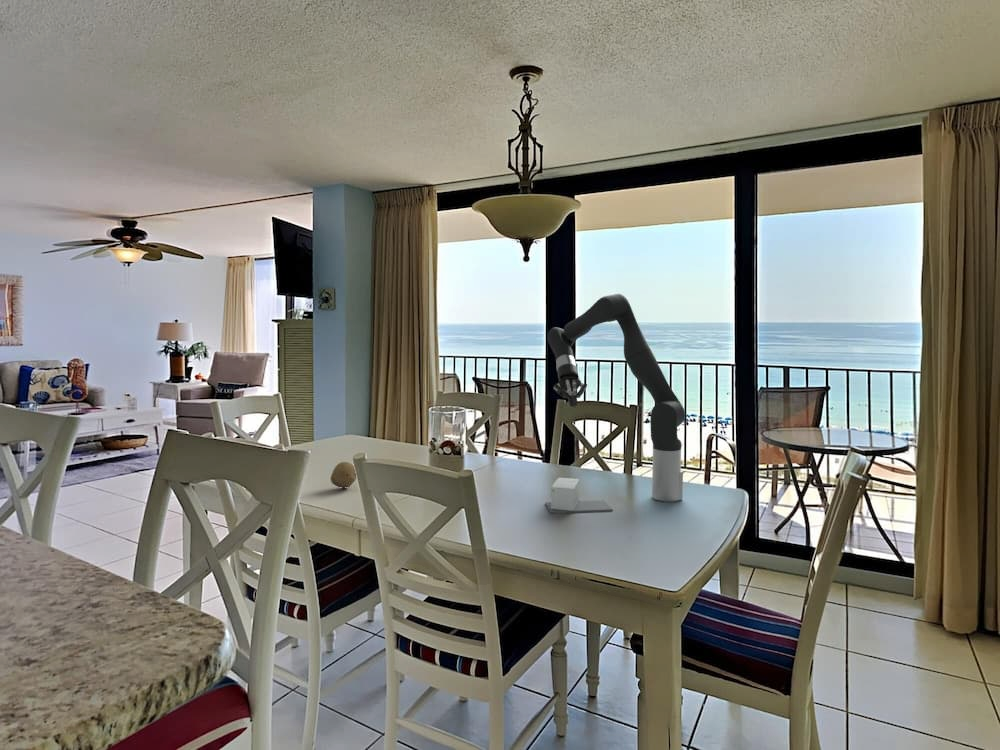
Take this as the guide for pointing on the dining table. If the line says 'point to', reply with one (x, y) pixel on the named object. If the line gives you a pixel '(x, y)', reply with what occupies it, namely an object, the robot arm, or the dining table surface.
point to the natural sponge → (343, 475)
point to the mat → (584, 507)
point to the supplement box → (565, 494)
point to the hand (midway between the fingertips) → (574, 405)
